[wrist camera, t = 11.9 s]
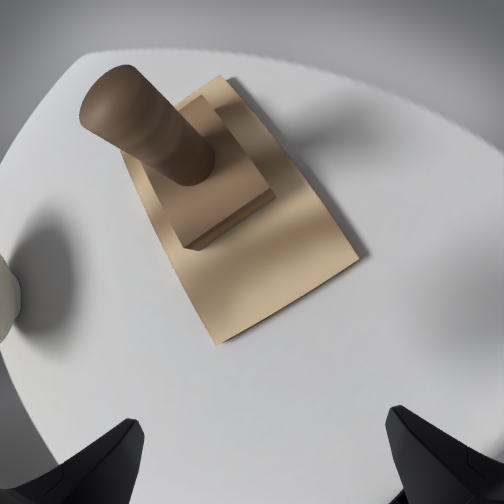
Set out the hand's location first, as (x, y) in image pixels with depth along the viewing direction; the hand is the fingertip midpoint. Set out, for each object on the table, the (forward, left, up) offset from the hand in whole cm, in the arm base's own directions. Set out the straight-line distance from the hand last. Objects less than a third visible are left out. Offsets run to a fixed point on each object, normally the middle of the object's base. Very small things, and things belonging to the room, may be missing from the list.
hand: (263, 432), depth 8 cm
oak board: (+10, -8, -12) cm, 18 cm away
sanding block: (+12, -9, -11) cm, 19 cm away
